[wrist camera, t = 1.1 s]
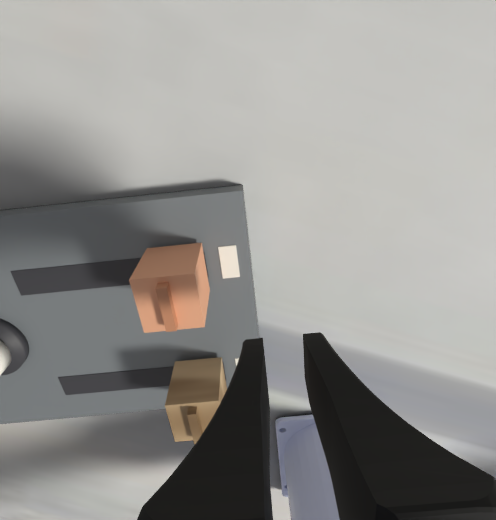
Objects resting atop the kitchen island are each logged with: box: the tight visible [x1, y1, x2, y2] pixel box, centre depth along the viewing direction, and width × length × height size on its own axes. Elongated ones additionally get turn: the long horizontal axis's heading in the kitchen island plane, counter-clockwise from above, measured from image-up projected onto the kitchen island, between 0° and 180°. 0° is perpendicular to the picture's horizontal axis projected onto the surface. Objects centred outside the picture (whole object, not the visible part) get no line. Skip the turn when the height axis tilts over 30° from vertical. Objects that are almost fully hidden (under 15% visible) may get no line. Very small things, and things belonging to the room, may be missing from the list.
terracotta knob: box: [129, 243, 210, 333], centre depth 18 cm, size 3×3×4 cm
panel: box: [0, 185, 259, 424], centre depth 22 cm, size 15×19×2 cm
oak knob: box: [165, 357, 227, 444], centre depth 22 cm, size 3×3×4 cm
